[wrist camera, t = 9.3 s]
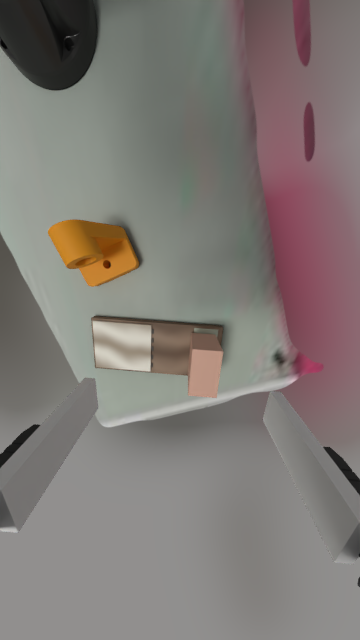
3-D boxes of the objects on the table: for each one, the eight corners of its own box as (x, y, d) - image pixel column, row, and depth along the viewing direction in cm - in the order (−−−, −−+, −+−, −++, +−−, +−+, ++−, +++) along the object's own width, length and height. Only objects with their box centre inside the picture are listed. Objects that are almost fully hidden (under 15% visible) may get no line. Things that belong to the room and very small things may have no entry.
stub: (191, 332, 35) (192, 349, 27) (215, 334, 35) (223, 351, 27) (188, 370, 37) (188, 395, 30) (210, 372, 37) (216, 397, 29)
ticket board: (95, 316, 37) (89, 318, 35) (221, 325, 36) (223, 328, 34) (98, 364, 40) (94, 368, 38) (215, 374, 39) (216, 379, 37)
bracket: (96, 287, 35) (52, 293, 24) (79, 253, 34) (21, 242, 22) (142, 266, 34) (118, 262, 22) (125, 230, 32) (90, 205, 20)
